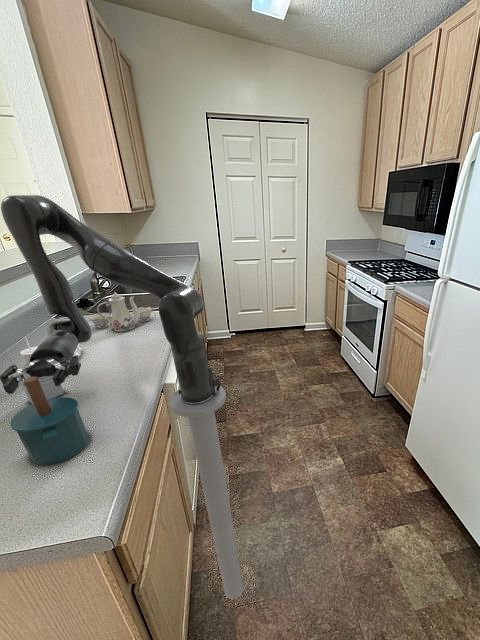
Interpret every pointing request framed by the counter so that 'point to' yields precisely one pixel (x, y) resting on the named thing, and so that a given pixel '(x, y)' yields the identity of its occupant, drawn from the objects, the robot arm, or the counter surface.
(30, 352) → the smoothie
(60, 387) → the medicine box
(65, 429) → the cooking pot
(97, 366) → the counter surface
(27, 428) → the lid
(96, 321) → the chinaware
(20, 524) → the counter surface
